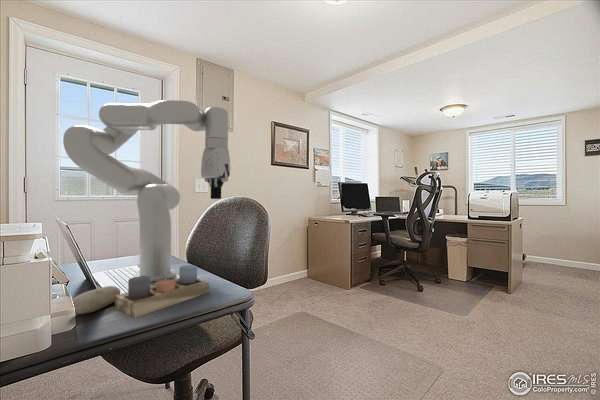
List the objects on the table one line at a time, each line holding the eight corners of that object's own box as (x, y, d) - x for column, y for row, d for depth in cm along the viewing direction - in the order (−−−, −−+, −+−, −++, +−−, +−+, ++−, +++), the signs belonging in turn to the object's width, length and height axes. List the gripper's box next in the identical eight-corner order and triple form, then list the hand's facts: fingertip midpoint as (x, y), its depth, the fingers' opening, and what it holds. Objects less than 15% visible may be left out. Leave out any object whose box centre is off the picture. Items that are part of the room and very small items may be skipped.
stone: (129, 290, 77) (93, 292, 65) (117, 313, 75) (78, 319, 64) (112, 281, 78) (74, 282, 66) (100, 304, 77) (59, 309, 65)
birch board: (114, 307, 72) (114, 295, 71) (188, 285, 89) (188, 276, 89) (135, 317, 66) (135, 305, 66) (209, 292, 84) (209, 282, 84)
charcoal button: (124, 295, 71) (124, 279, 71) (143, 290, 75) (144, 275, 75) (134, 299, 68) (134, 283, 68) (154, 294, 72) (154, 278, 72)
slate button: (175, 281, 83) (175, 267, 83) (190, 277, 87) (190, 264, 87) (186, 284, 80) (186, 270, 80) (200, 280, 84) (200, 266, 84)
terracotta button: (152, 297, 77) (152, 282, 77) (168, 292, 81) (168, 278, 81) (162, 301, 74) (162, 286, 74) (178, 296, 78) (179, 281, 78)
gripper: (193, 145, 98) (192, 198, 99) (223, 141, 90) (222, 199, 91) (210, 148, 105) (210, 198, 105) (240, 145, 96) (239, 199, 97)
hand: (215, 198), depth 98 cm, fingers closed
